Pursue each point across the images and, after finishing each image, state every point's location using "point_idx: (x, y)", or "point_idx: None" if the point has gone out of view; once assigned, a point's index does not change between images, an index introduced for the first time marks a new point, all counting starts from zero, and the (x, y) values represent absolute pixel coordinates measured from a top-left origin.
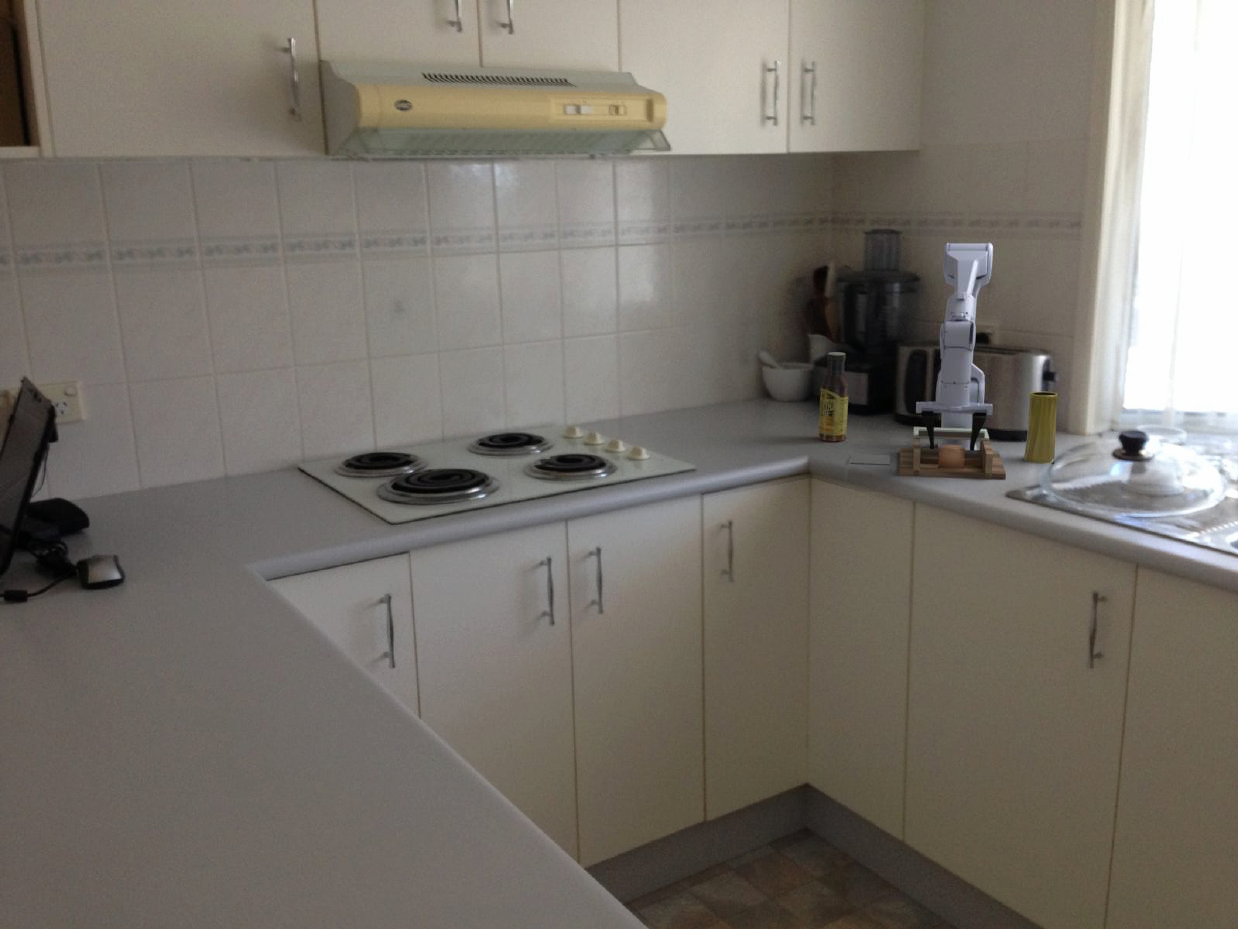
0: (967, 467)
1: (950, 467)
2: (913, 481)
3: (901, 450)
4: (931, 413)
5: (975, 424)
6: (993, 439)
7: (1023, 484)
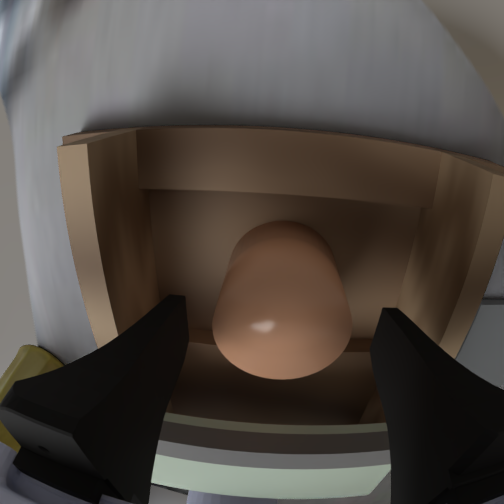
0: (213, 301)
1: (291, 230)
2: (452, 89)
3: None
4: (469, 489)
5: (92, 388)
6: (169, 489)
7: (33, 106)
